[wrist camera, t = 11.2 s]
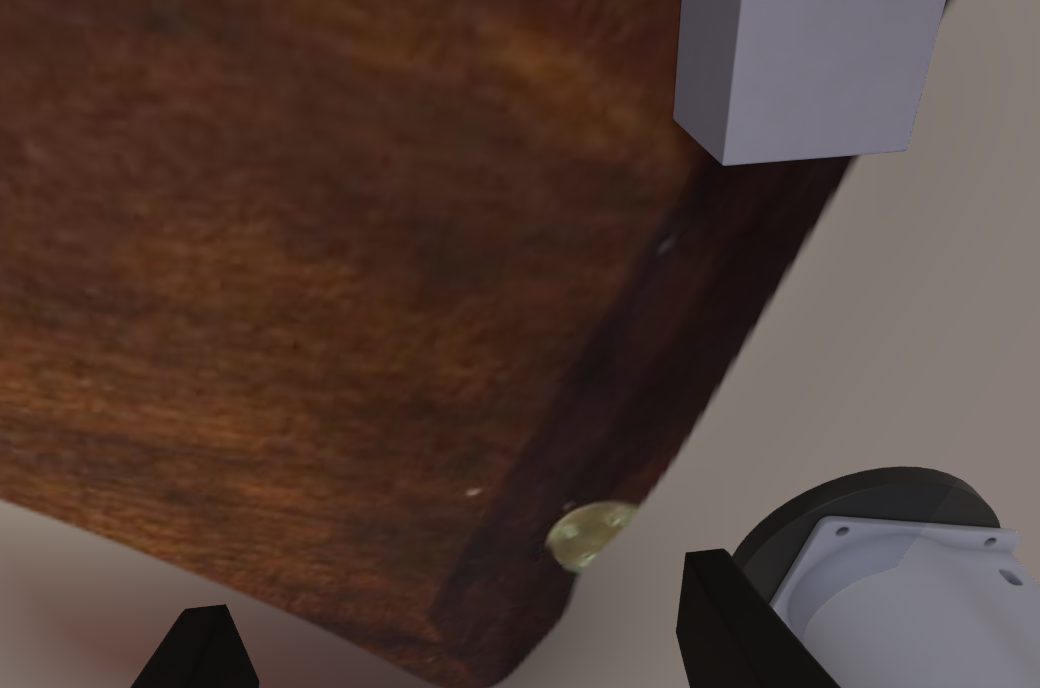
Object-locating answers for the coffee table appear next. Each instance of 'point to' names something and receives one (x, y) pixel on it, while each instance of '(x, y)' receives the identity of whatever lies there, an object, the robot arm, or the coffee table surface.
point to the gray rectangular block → (802, 76)
